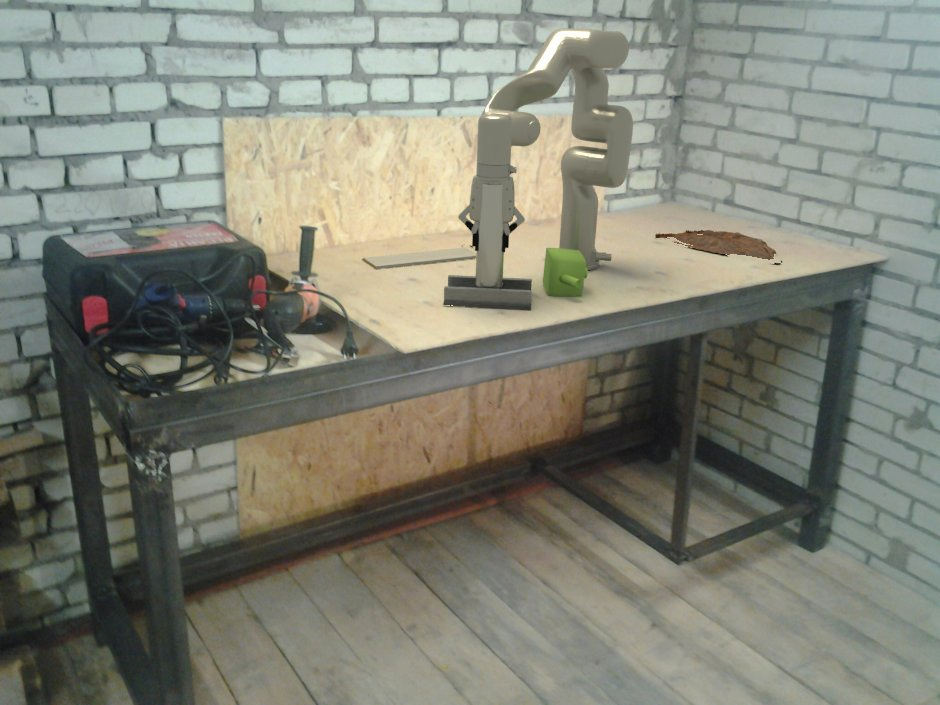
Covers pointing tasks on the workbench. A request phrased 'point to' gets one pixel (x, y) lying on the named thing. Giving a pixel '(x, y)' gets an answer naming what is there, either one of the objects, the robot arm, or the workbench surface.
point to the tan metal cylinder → (490, 238)
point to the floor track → (488, 293)
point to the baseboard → (419, 258)
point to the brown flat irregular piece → (724, 243)
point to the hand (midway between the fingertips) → (490, 249)
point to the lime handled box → (564, 272)
